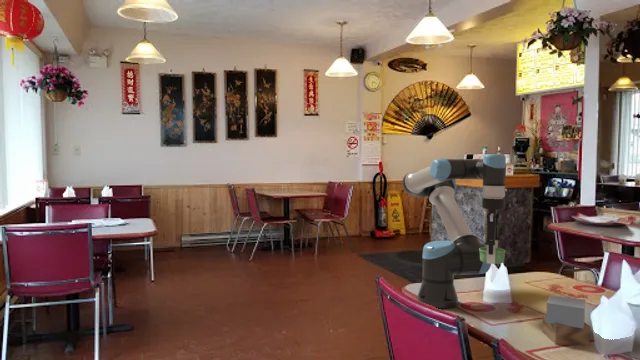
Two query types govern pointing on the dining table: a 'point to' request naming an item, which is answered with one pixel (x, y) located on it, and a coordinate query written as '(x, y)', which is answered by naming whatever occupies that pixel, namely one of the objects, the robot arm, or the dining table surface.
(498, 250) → the ramekin
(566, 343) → the walnut base block
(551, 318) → the slate-grey block
